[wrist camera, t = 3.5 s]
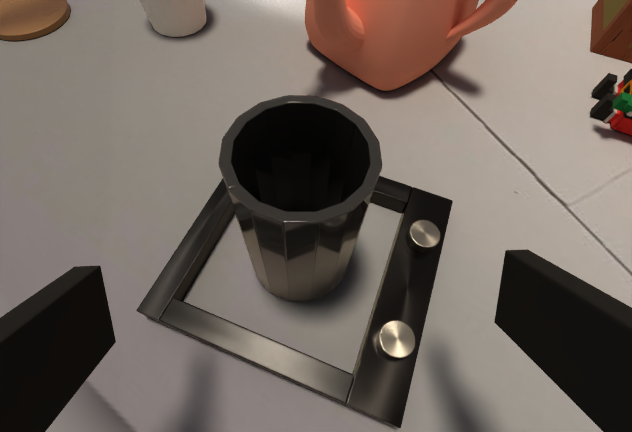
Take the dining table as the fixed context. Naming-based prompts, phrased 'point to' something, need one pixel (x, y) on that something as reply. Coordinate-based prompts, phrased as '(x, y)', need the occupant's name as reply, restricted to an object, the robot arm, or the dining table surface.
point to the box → (612, 29)
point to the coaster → (31, 18)
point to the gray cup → (300, 190)
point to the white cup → (175, 16)
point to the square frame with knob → (385, 320)
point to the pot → (394, 34)
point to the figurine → (615, 102)
